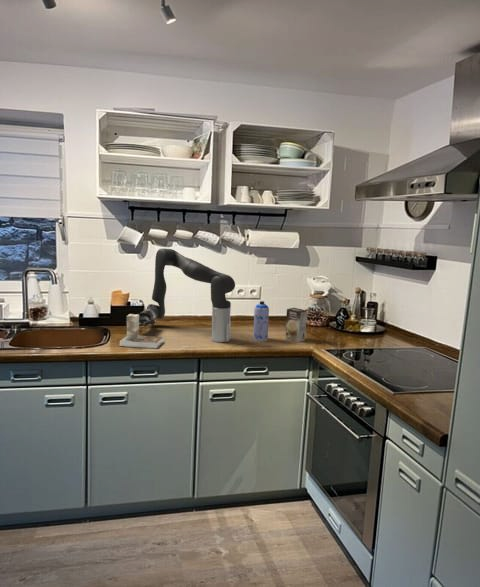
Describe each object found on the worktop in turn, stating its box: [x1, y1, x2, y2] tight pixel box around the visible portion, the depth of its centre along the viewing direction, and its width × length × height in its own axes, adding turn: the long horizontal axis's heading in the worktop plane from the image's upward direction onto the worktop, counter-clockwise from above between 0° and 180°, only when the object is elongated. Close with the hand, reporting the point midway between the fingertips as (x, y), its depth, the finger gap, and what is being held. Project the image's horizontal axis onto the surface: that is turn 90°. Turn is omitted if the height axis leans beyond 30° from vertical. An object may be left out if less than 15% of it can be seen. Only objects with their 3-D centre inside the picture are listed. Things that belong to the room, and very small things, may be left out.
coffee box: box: [284, 307, 308, 343], centre depth 242 cm, size 9×6×16 cm
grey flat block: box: [119, 335, 165, 349], centre depth 223 cm, size 18×12×3 cm, turn 84°
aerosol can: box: [252, 300, 270, 342], centre depth 239 cm, size 8×8×20 cm
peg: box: [126, 313, 140, 340], centre depth 223 cm, size 4×4×14 cm
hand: (136, 323), depth 228 cm, fingers open, 8 cm apart
